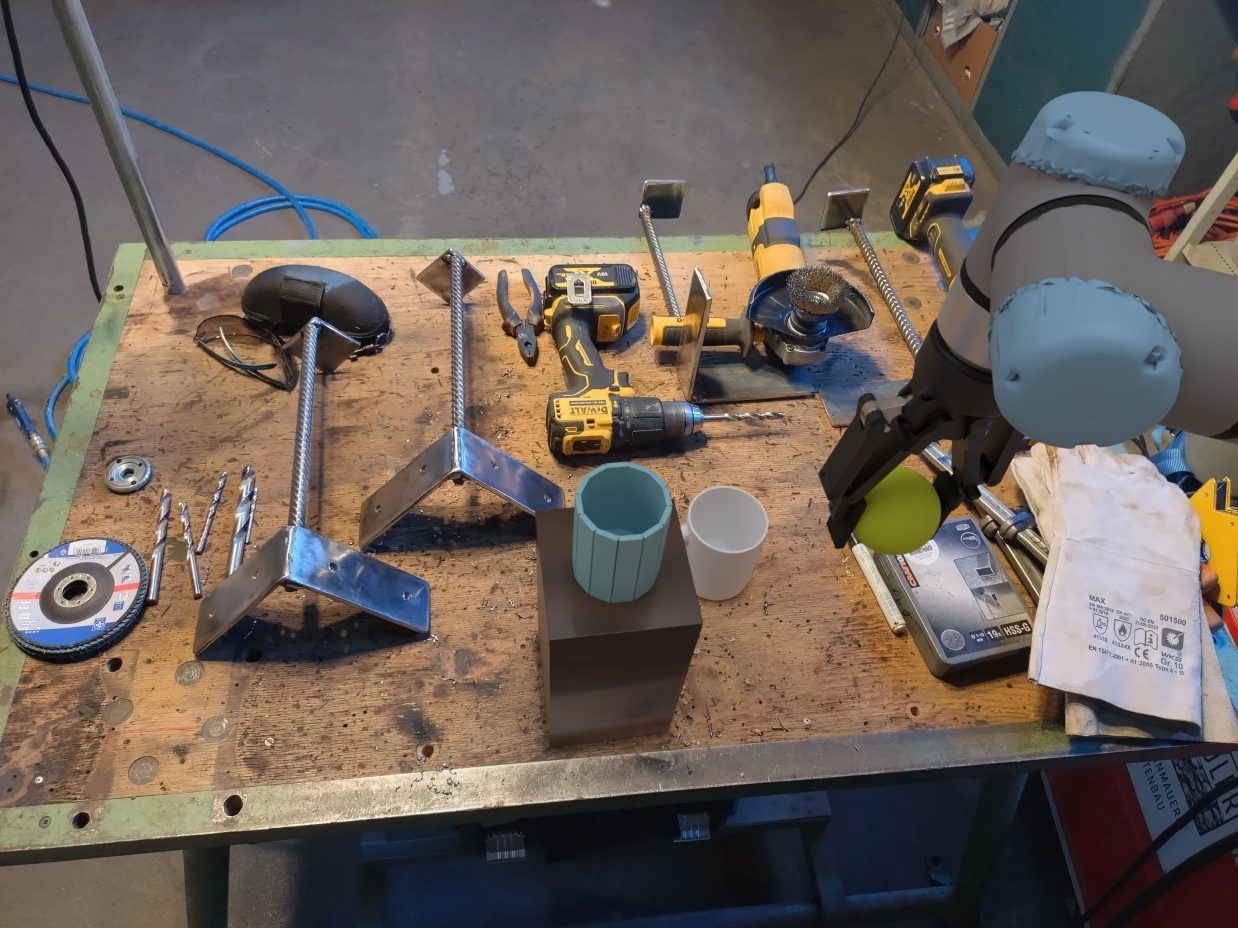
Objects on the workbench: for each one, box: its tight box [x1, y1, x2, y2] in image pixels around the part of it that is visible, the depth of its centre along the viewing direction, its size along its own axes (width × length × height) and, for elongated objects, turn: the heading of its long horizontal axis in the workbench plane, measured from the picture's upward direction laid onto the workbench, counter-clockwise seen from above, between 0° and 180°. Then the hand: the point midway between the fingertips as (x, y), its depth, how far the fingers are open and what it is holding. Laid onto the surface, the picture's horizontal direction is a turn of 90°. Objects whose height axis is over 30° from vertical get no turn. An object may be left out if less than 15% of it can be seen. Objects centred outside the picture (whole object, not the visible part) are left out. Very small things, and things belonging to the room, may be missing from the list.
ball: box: [852, 465, 941, 556], centre depth 68 cm, size 8×8×8 cm
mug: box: [680, 485, 770, 601], centre depth 89 cm, size 9×12×11 cm
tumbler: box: [572, 461, 672, 603], centre depth 61 cm, size 7×7×9 cm
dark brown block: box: [534, 498, 704, 749], centre depth 74 cm, size 12×12×24 cm
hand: (878, 531), depth 71 cm, fingers closed on ball, 7 cm apart
